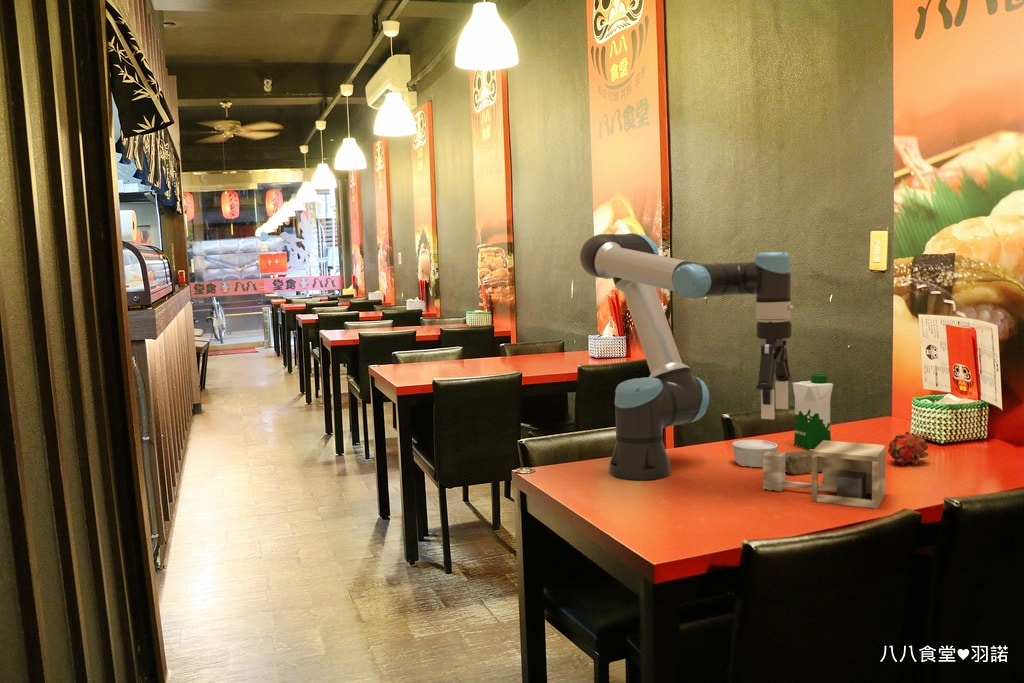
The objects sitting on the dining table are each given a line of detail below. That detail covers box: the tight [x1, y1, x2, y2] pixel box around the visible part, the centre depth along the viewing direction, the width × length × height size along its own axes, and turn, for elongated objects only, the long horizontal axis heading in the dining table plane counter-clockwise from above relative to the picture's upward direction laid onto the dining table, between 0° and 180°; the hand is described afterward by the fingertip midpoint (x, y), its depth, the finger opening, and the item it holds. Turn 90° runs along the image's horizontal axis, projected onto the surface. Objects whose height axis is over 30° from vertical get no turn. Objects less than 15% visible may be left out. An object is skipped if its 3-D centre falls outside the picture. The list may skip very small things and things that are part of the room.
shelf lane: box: [811, 440, 887, 510], centre depth 177 cm, size 13×12×11 cm
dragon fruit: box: [887, 431, 929, 466], centre depth 205 cm, size 8×8×12 cm
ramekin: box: [731, 439, 779, 468], centre depth 210 cm, size 11×11×5 cm
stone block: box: [784, 449, 823, 475], centre depth 201 cm, size 6×12×5 cm, turn 103°
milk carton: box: [791, 373, 834, 450], centre depth 226 cm, size 9×9×20 cm
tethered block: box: [762, 451, 867, 499], centre depth 181 cm, size 21×6×8 cm, turn 58°
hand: (775, 413), depth 185 cm, fingers open, 13 cm apart
